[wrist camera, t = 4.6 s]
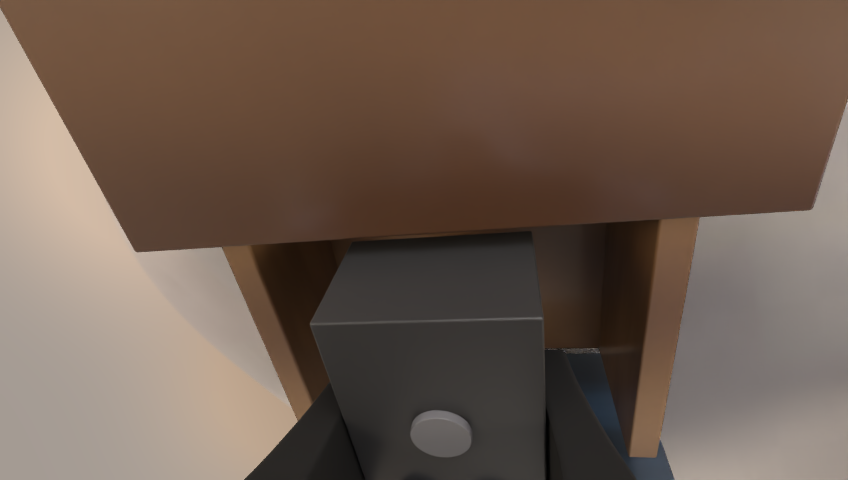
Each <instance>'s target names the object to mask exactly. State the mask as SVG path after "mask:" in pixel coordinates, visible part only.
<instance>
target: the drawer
mask: <svg viewBox="0 0 848 480" xmlns="http://www.w3.org/2000/svg"><path fill="white" fill-rule="evenodd" d="M699 219H700V217H692V218H676V219H660V220H644V221H628V222H612V223H596V224H580V225H564V226H548V227H532V228H516V229H500V230H484V231H468V232H452V233H436V234H421V235H405V236H389V237H373V238H357V239H341V240H325V241H309V242H293V243H277V244H261V245H245V246H229V247H222V249H223V251H224V253H225V256H226V258H227V260H228V262H229V265H230V267H231V269H232V272H233V274H234V276H235V278H236V281H237V283H238V285H239V288H240V290H241V292H242V294H243V297H244V299H245V301H246V304H247V306H248V308H249V310H250V313H251V315H252V317H253V320H254V322H255V324H256V326H257V329H258V331H259V333H260V336H261V338H262V340H263V342H264V345H265V347H266V349H267V352H268V354H269V356H270V358H271V361H272V363H273V365H274V368H275V370H276V372H277V374H278V377H279V379H280V381H281V384H282V386H283V388H284V390H285V393H286V395H287V397H288V400H289V402H290V404H291V406H292V409H293V411H294V413H295V416H296V418H297V420H298V421H299V420H300V418H301V417H302V416H303V415H304V413H305V412H306V411H307V410H308V409H309V407H310V406H311V405H312V404H313V402H314V401H315V400H316V399H317V397H318V396H319V395H320V394H321V392H322V391H323V390H324V388H325V387H326V386H327V385H328V383H329V382H330V380H329V377H328V374H327V371H326V369H325V366H324V363H323V360H322V358H321V355H320V352H319V349H318V346H317V344H316V341H315V338H314V335H313V333H312V330H311V327H310V322H311V320H312V318H313V316H314V314H315V312H316V310H317V308H318V307H319V305H320V303H321V301H322V299H323V297H324V295H325V293H326V291H327V289H328V287H329V285H330V283H331V281H332V279H333V277H334V276H335V274H336V272H337V270H338V268H339V266H340V264H341V262H342V260H343V258H344V256H345V254H346V252H347V250H348V248H349V246H350V244H351V243H352V242H355V241H371V240H388V239H405V238H422V237H438V236H455V235H472V234H489V233H505V232H522V231H531V232H532V234H533V242H534V249H535V257H536V264H537V271H538V279H539V286H540V294H541V301H542V308H543V316H544V349H559V348H599V351H600V353H580V354H566V355H567V358H568V361H569V363H570V366H571V368H572V371H573V373H574V375H575V377H576V379H577V381H578V384H579V386H580V387H581V389H582V391H583V393H584V395H585V397H586V399H587V401H588V403H589V405H590V406H591V408H592V410H593V412H594V413H595V415H596V417H597V418H598V420H599V422H600V424H601V425H602V427H603V429H604V430H605V432H606V434H607V435H608V437H609V439H610V440H611V442H612V443H613V445H614V446H615V448H616V450H617V451H618V453H619V454H620V456H621V457H622V459H623V460H624V462H625V463H626V465H627V466H628V468H629V469H630V470H631V472H632V473H633V475H634V476H635V478H636V479H637V480H674V477H673V474H672V471H671V468H670V465H669V463H668V460H667V457H666V454H665V451H664V448H663V445H662V443H661V440H660V435H661V430H662V424H663V419H664V413H665V407H666V402H667V396H668V391H669V385H670V380H671V374H672V369H673V363H674V357H675V352H676V346H677V341H678V335H679V330H680V324H681V319H682V313H683V307H684V302H685V296H686V291H687V285H688V280H689V274H690V269H691V263H692V258H693V252H694V246H695V241H696V235H697V230H698V224H699Z"/></svg>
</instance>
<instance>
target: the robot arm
mask: <svg viewBox="0 0 848 480" xmlns="http://www.w3.org/2000/svg"><path fill="white" fill-rule="evenodd" d="M545 401H546V453H547V480H637V479H636V478H635V476H634V475H633V473H632V472H631V470H630V469H629V468H628V466H627V465H626V463H625V462H624V460H623V459H622V457H621V456H620V454H619V453H618V451H617V450H616V448H615V446H614V445H613V443H612V442H611V440H610V439H609V437H608V435H607V434H606V432H605V430H604V429H603V427H602V425H601V424H600V422H599V420H598V418H597V417H596V415H595V413H594V412H593V410H592V408H591V406H590V405H589V403H588V401H587V399H586V397H585V395H584V393H583V391H582V389H581V387H580V386H579V384H578V381H577V379H576V377H575V375H574V373H573V371H572V368H571V366H570V363H569V361H568V358H567V355H566V353H565V352H564V351H562V350H545ZM244 480H365V477H364V474H363V471H362V469H361V466H360V463H359V460H358V458H357V455H356V452H355V449H354V446H353V444H352V441H351V438H350V435H349V433H348V430H347V427H346V424H345V421H344V419H343V416H342V413H341V410H340V408H339V405H338V402H337V399H336V396H335V394H334V391H333V388H332V385H331V383H330V382H329V383H328V385H327V386H326V387H325V388H324V390H323V391H322V392H321V394H320V395H319V396H318V397H317V399H316V400H315V401H314V402H313V404H312V405H311V406H310V407H309V409H308V410H307V411H306V412H305V413H304V415H303V416H302V417H301V418H300V420H299V421H298V422H297V423H296V424H295V425H294V427H293V428H292V429H291V430H290V431H289V432H288V433H287V435H286V436H285V437H284V438H283V439H282V440H281V441H280V442H279V444H278V445H277V446H276V447H275V448H274V449H273V450H272V451H271V453H270V454H269V455H268V456H267V457H266V458H265V459H264V460H263V461H262V462H261V463H260V464H259V465H258V466H257V467H256V468H255V469H254V471H252V472H251V473H250V474H249V475H248V476H247V477H246V478H245V479H244Z"/></svg>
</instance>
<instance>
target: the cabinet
mask: <svg viewBox="0 0 848 480" xmlns="http://www.w3.org/2000/svg"><path fill="white" fill-rule="evenodd" d="M0 8H1V10H2V12H3V14H4V15H5V17H6V19H7V21H8V23H9V24H10V26H11V28H12V30H13V32H14V33H15V35H16V37H17V39H18V41H19V43H20V44H21V46H22V48H23V49H24V51H25V53H26V55H27V57H28V59H29V61H30V62H31V64H32V66H33V68H34V70H35V71H36V73H37V75H38V77H39V79H40V80H41V82H42V84H43V86H44V88H45V89H46V91H47V93H48V95H49V96H50V98H51V100H52V102H53V104H54V106H55V108H56V109H57V111H58V113H59V115H60V117H61V118H62V120H63V122H64V124H65V125H66V127H67V129H68V131H69V133H70V135H71V136H72V138H73V140H74V142H75V143H76V145H77V147H78V149H79V151H80V153H81V154H82V156H83V158H84V160H85V162H86V164H87V165H88V167H89V169H90V171H91V173H92V174H93V176H94V178H95V180H96V182H97V183H98V185H99V187H100V189H101V191H102V192H103V194H104V196H105V198H106V200H107V201H108V203H109V205H110V207H111V209H112V210H113V212H114V214H115V216H116V218H117V219H118V221H119V223H120V225H121V227H122V229H123V230H124V232H125V234H126V236H127V238H128V239H129V241H130V243H131V245H132V247H133V248H134V250H135V251H136V252H149V251H165V250H181V249H197V248H213V247H229V246H245V245H261V244H277V243H293V242H309V241H325V240H341V239H357V238H373V237H389V236H405V235H421V234H436V233H452V232H468V231H484V230H500V229H516V228H532V227H548V226H564V225H580V224H596V223H612V222H628V221H644V220H660V219H676V218H692V217H708V216H724V215H740V214H756V213H772V212H788V211H804V210H811V209H812V208H813V206H814V203H815V200H816V197H817V194H818V191H819V188H820V184H821V181H822V178H823V175H824V172H825V169H826V166H827V162H828V159H829V156H830V153H831V150H832V147H833V144H834V141H835V137H836V134H837V131H838V128H839V125H840V122H841V119H842V115H843V112H844V109H845V106H846V103H847V100H848V0H0Z"/></svg>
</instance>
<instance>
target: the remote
mask: <svg viewBox="0 0 848 480" xmlns="http://www.w3.org/2000/svg"><path fill="white" fill-rule="evenodd" d="M310 327H311V330H312V333H313V335H314V338H315V341H316V344H317V346H318V349H319V352H320V355H321V358H322V360H323V363H324V366H325V369H326V371H327V374H328V377H329V380H330V383H331V385H332V388H333V391H334V394H335V396H336V399H337V402H338V405H339V408H340V410H341V413H342V416H343V419H344V421H345V424H346V427H347V430H348V433H349V435H350V438H351V441H352V444H353V446H354V449H355V452H356V455H357V458H358V460H359V463H360V466H361V469H362V471H363V474H364V477H365V480H547V453H546V401H545V350H544V316H543V308H542V301H541V294H540V286H539V279H538V271H537V264H536V257H535V249H534V242H533V234H532V232H531V231H522V232H505V233H489V234H472V235H455V236H438V237H422V238H405V239H388V240H371V241H355V242H352V243H351V244H350V246H349V248H348V250H347V252H346V254H345V256H344V258H343V260H342V262H341V264H340V266H339V268H338V270H337V272H336V274H335V276H334V277H333V279H332V281H331V283H330V285H329V287H328V289H327V291H326V293H325V295H324V297H323V299H322V301H321V303H320V305H319V307H318V308H317V310H316V312H315V314H314V316H313V318H312V320H311V322H310Z"/></svg>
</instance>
